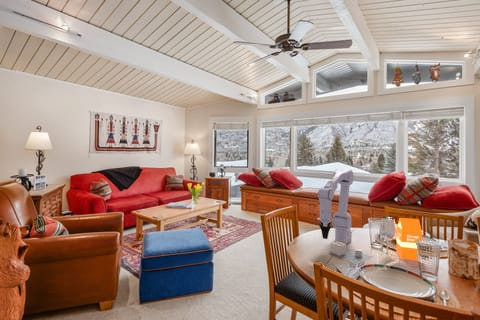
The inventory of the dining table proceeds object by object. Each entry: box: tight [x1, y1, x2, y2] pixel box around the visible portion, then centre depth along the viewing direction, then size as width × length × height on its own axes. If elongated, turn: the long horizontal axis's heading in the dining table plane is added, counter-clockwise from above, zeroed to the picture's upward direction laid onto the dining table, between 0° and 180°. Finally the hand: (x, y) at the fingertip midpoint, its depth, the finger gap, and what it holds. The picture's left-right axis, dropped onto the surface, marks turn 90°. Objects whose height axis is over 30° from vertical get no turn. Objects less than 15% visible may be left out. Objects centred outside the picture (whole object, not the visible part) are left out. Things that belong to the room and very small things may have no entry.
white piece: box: [329, 241, 347, 256], centre depth 125 cm, size 5×5×5 cm
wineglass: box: [378, 216, 397, 258], centre depth 124 cm, size 8×8×20 cm
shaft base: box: [325, 246, 374, 265], centre depth 123 cm, size 16×16×4 cm
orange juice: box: [396, 217, 423, 261], centre depth 124 cm, size 8×9×20 cm
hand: (325, 236), depth 126 cm, fingers open, 7 cm apart
